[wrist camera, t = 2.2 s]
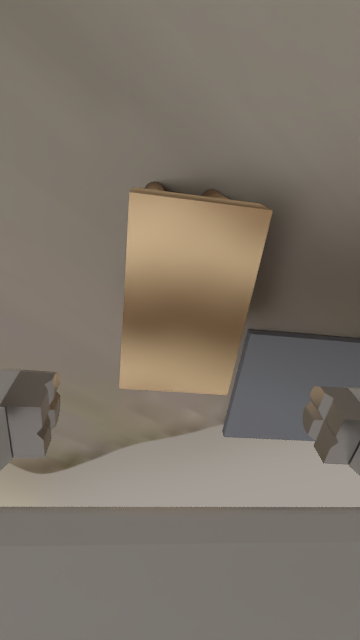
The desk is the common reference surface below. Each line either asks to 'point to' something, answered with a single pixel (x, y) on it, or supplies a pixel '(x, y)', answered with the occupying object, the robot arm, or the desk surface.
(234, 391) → the charcoal mat
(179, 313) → the oak stool
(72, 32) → the desk surface
